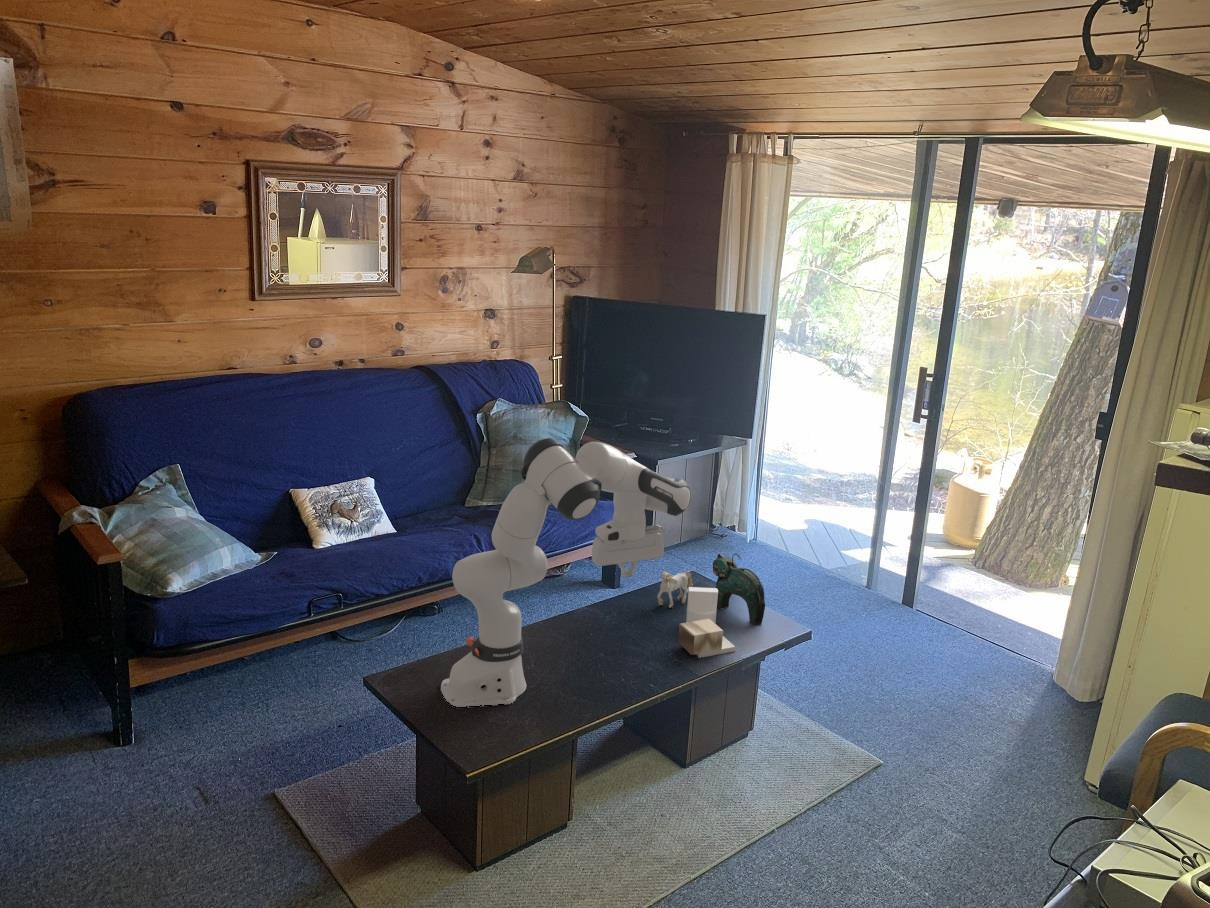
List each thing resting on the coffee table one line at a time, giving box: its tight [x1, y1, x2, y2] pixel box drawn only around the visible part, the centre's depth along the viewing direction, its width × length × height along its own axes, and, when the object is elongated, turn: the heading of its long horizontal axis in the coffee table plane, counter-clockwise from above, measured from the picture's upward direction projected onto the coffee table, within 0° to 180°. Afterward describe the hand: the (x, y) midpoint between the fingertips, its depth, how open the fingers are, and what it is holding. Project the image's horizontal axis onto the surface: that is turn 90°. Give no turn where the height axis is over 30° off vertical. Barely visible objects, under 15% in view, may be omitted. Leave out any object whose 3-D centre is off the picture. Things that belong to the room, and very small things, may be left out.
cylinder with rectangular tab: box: [685, 586, 718, 624], centre depth 293 cm, size 9×9×12 cm
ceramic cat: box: [712, 553, 766, 626], centre depth 301 cm, size 20×6×20 cm, turn 40°
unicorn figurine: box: [656, 571, 694, 608], centre depth 305 cm, size 7×20×13 cm, turn 150°
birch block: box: [677, 619, 724, 656], centre depth 278 cm, size 6×8×10 cm
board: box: [694, 635, 736, 659], centre depth 282 cm, size 12×12×2 cm
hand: (627, 575), depth 262 cm, fingers closed
